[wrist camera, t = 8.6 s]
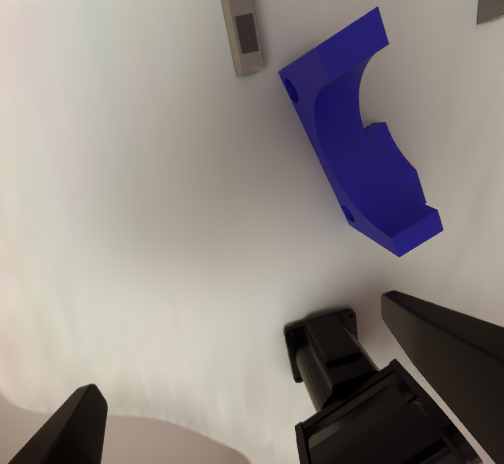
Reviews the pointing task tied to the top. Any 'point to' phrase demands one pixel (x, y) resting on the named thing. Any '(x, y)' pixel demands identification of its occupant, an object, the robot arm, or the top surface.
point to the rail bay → (248, 43)
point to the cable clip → (359, 140)
